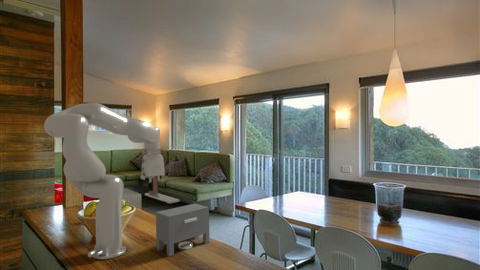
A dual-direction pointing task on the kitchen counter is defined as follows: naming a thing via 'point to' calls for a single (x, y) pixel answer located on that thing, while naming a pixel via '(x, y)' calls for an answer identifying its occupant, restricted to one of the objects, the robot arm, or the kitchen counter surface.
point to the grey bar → (159, 196)
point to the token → (185, 245)
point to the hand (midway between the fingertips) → (153, 189)
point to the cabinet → (181, 225)
